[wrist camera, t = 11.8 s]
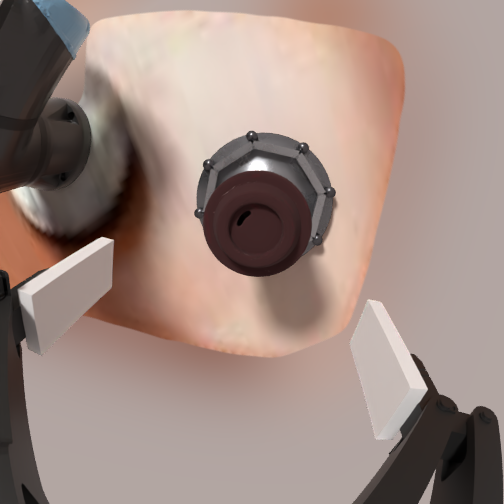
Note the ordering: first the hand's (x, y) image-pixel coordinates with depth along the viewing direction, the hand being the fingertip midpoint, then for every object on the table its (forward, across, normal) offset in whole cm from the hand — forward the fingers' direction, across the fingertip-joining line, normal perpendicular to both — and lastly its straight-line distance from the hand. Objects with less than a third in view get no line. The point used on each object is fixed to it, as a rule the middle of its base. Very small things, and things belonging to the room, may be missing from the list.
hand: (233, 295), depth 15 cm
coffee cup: (+28, 0, 0) cm, 28 cm away
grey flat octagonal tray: (+29, 0, 0) cm, 29 cm away
